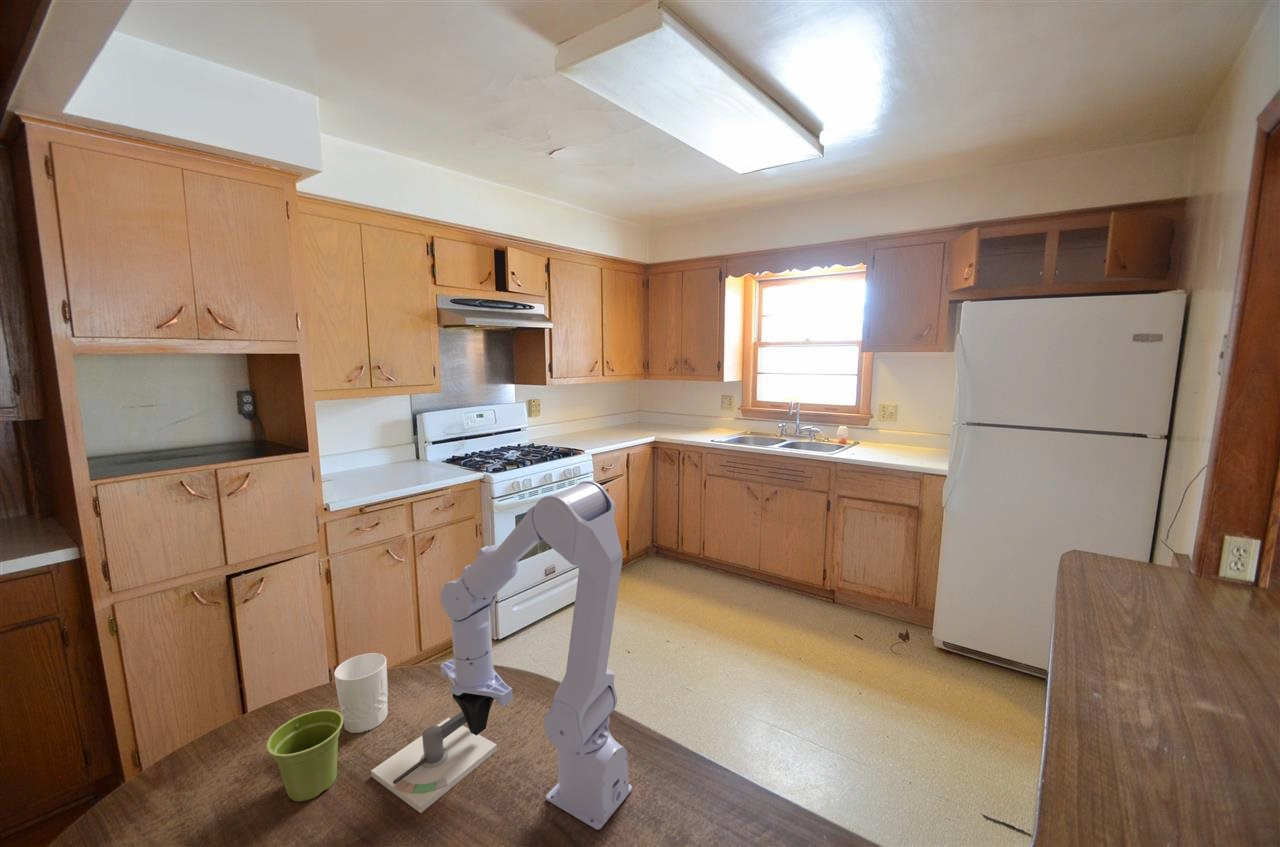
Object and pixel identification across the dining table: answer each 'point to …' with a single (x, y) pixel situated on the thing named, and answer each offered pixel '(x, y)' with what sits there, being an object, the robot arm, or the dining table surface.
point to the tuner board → (433, 767)
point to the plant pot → (307, 752)
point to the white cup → (362, 691)
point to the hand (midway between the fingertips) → (478, 730)
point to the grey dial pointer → (435, 742)
